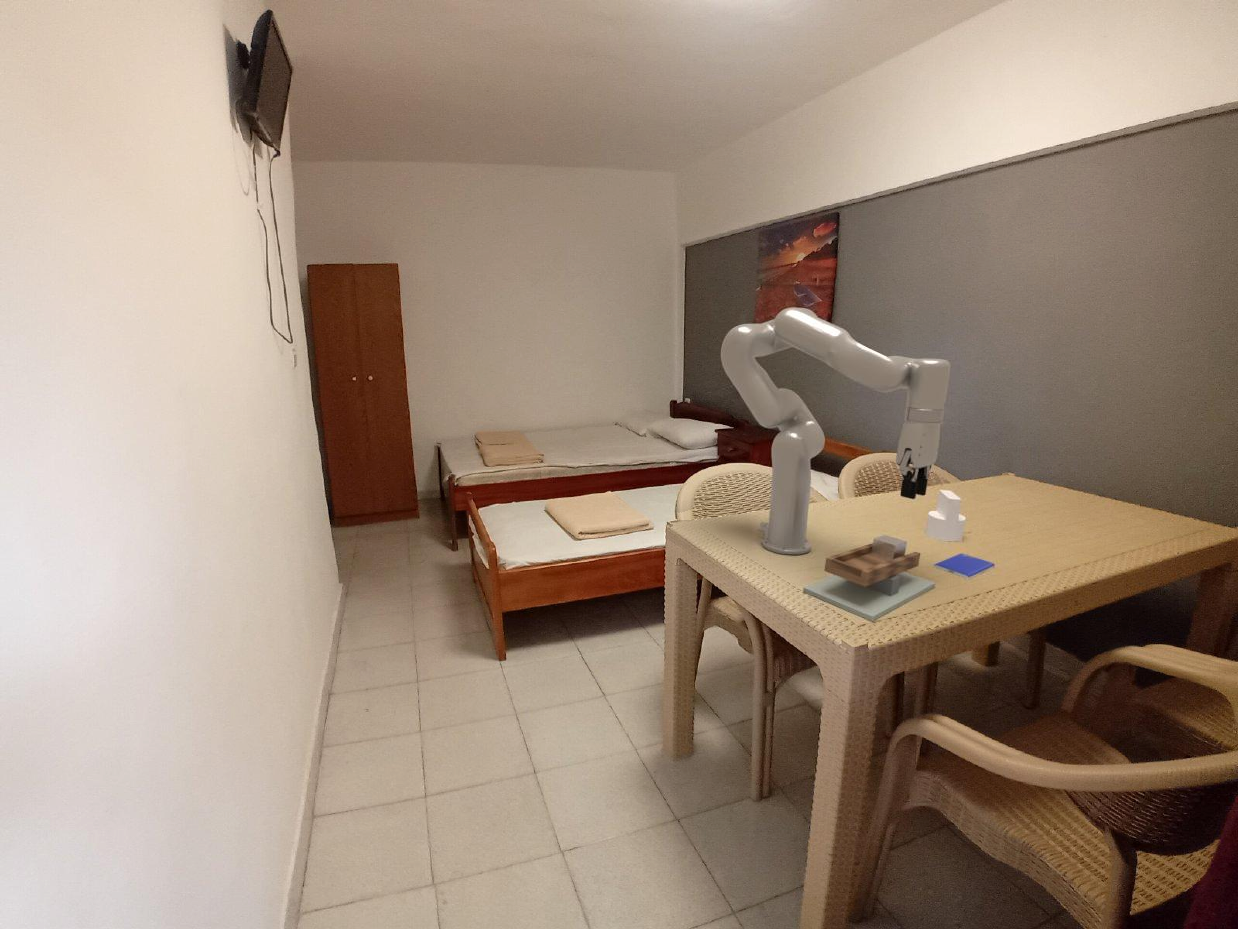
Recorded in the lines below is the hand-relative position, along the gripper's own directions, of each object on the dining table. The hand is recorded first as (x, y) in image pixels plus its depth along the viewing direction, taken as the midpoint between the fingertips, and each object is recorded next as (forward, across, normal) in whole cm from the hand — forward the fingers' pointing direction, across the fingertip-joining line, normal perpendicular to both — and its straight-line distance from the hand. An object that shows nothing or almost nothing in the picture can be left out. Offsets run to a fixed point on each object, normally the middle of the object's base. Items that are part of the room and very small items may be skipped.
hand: (913, 495), depth 134 cm
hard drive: (+20, -16, +7) cm, 27 cm away
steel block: (+13, +8, 0) cm, 15 cm away
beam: (+14, +14, 0) cm, 20 cm away
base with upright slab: (+19, -34, -6) cm, 40 cm away
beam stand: (+19, +14, 0) cm, 24 cm away
